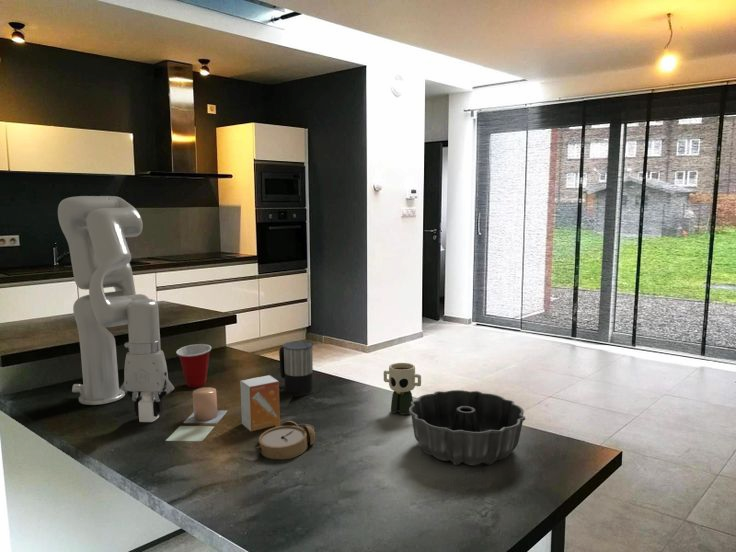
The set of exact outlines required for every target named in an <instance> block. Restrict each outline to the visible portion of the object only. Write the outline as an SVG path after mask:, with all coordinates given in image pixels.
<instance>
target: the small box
mask: <svg viewBox="0 0 736 552" xmlns="http://www.w3.org/2000/svg"><path fill="white" fill-rule="evenodd" d="M239 383H240V405H241V407H240V409H241V411H240V412H241V425H242V426H244V427H245V428H246V429H247V430H249V431H250V432H253V431H254V432H255V431H257V430H258V431H260V430H262V429H266V428H270V427H278V426H281V414H280V413H281V412H280V409H281V407H280V392H279V390H280V388H279V386H280V382H279V380H277V379H276V378H275V377H273V376H272V375H270V374H269V375H264V376H263V375H262V376H257V377H252V378H249V379H243V380H240V381H239Z"/></svg>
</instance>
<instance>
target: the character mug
mask: <svg viewBox="0 0 736 552" xmlns="http://www.w3.org/2000/svg"><path fill="white" fill-rule="evenodd" d="M416 379H417V382H416ZM383 382H385V383H388V385H389V388H390V390H392V391H393V393H392V397H391V403H390V411H391V413H394V414H398V412H399V415H408V414H410V413H409V408H410V407H411V402H412V401H414V398H413V394H412V391H414V389H415V387H421V386H422V375H421V374H418V373H416V366H415V365H414V364H413V363H409V362H396V363H395V362H394V363H392V364H390V365H389V366H388V370H383Z"/></svg>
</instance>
